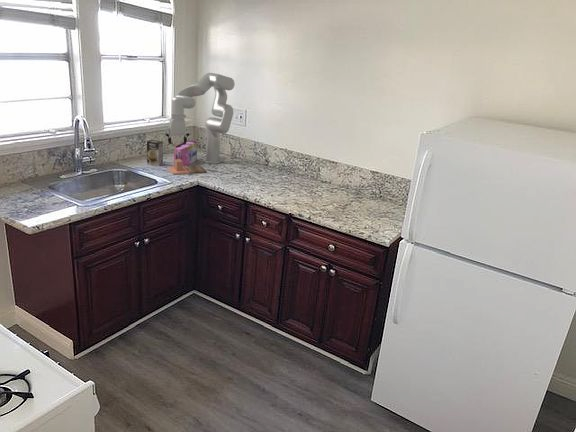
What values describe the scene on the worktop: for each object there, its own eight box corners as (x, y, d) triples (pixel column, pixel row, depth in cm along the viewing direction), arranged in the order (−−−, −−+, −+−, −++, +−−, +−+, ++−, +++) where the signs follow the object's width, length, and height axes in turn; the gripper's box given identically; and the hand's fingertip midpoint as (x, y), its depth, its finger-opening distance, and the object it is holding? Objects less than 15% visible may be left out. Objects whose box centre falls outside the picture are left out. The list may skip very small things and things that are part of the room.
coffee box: (146, 164, 315) (146, 141, 309) (151, 162, 321) (151, 139, 315) (158, 166, 313) (158, 143, 307) (163, 164, 319) (163, 141, 313)
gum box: (183, 168, 315) (183, 148, 310) (172, 166, 316) (172, 147, 311) (197, 160, 337) (197, 141, 332) (186, 158, 338) (187, 140, 333)
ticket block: (199, 167, 321) (199, 164, 320) (206, 173, 309) (206, 170, 309) (183, 167, 315) (184, 165, 315) (190, 174, 304) (190, 171, 304)
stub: (183, 167, 315) (183, 157, 312) (189, 173, 304) (190, 163, 301) (167, 168, 310) (167, 158, 307) (173, 174, 299) (173, 164, 296)
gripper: (189, 115, 301) (189, 141, 307) (162, 115, 293) (162, 142, 299) (192, 118, 295) (192, 144, 301) (165, 118, 287) (165, 145, 293)
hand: (177, 143), depth 300 cm, fingers open, 9 cm apart
